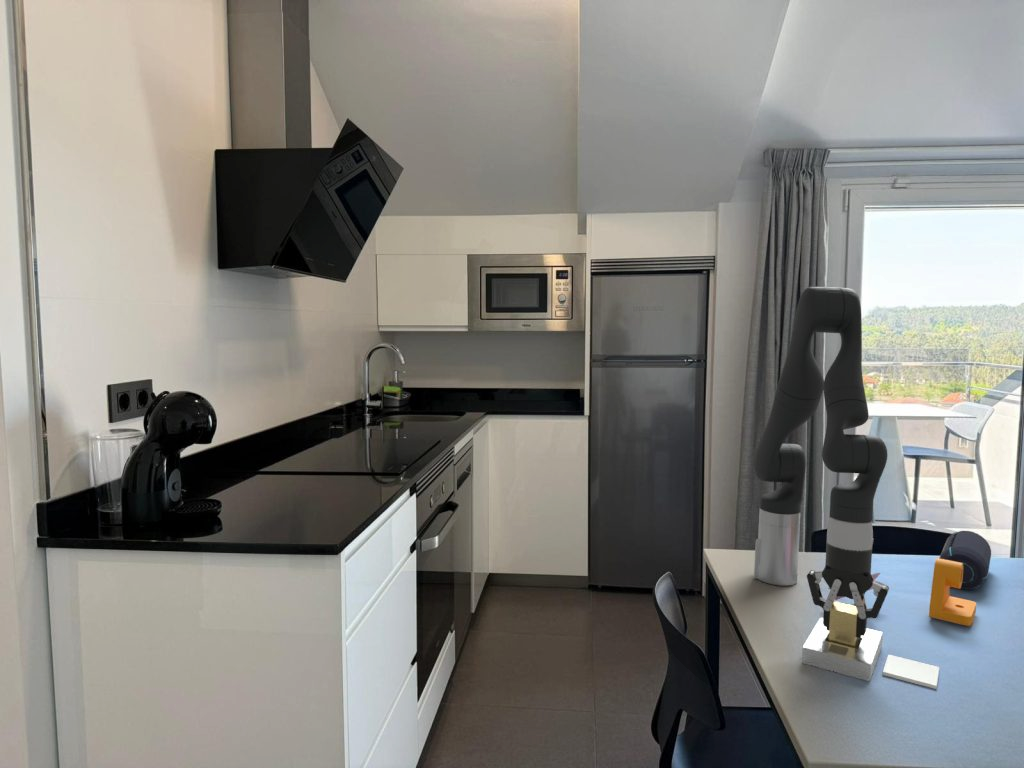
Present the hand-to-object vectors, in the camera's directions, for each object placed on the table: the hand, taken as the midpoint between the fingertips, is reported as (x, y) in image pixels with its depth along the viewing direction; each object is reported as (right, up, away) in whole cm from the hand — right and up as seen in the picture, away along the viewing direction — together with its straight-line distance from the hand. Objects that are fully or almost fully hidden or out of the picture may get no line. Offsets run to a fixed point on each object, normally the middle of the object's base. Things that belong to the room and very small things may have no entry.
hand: (844, 632), depth 126 cm
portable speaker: (+51, -2, +43) cm, 66 cm away
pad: (+9, -5, -6) cm, 12 cm away
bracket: (+32, -4, +19) cm, 37 cm away
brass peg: (0, -4, 0) cm, 4 cm away
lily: (+13, -3, +22) cm, 26 cm away
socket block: (0, -4, 0) cm, 4 cm away
